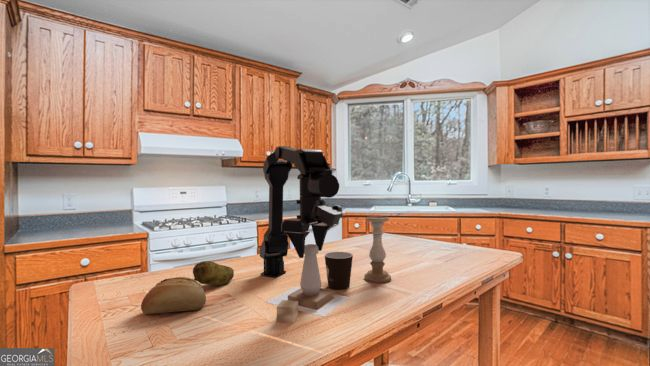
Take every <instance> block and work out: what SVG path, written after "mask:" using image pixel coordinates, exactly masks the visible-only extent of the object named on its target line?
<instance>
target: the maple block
mask: <svg viewBox="0 0 650 366" xmlns="http://www.w3.org/2000/svg"><path fill="white" fill-rule="evenodd" d="M298 317H299V311H298V301H289V300H282V301H281V302H280V303H279V304H278V306H277V305H276V323H287V324H294V323H295V322H296V320H297V318H298Z"/></svg>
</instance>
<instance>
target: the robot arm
mask: <svg viewBox="0 0 650 366" xmlns="http://www.w3.org/2000/svg"><path fill="white" fill-rule="evenodd" d="M293 166H294V167H295V169H296V170H298V171H299V174H298V175H297V179H298V180H299V199H296V205H299V215H298V214H297V215H296V218H288V219H283V218H284V215H283V214H284V186H285V184H286V183H287V181H288V180H289V176H290V175H289V174H290V172H291V170H292V169H293ZM262 170H263V173H264V180H265V181H266V183H267V184H268V186H269V188H268V189H269V190H268V228H267V229H266V231H265V232H264V233H263V240H262V243H261V244H260V247H259V249H258V250H259V251H258V253H259V257H260V258H261V259H263V272H261V273H260V275H261V276H267V277H273V278H277V277H279V276H281V275H283V274H286V273H287V271H286V270H285V260H284V257H287V256H288V250H289V243H290V242H289V241H291V244H292V245H293V247H294V248H293V249H294V250H295V252H296V254H297V256H298V258H300V259H304V257H305V254H304V249H305V245H306V238H307V236H308V235H309V234H310V231H309V229H310V226H311V229H312V233H313V238H314V242H315V245H317V246H318V249H319V252H321V251H322V250H323V246H324V242H325V239H326V236H327V233H328V232H329V230H330V229H332V228H333V227H334V226H335V225H339V222H340V219H343V217H344V215H343V210H342V209H343V207H342V206H340V205H338V204H334V205H333V206H328V205H326V201H325V199H322V198H327V199H329V198H333V197H335V196H336V195H337V194H338V192H339V189H340V182H339V180H338V179H337V177H336V176H334V174H333V170H332V169H331V167H330V165H329V163H328V161H327V158H326V156H325V154H324V152H323V150H321V149H309V148H306V149H305V148H294V147H291V146H284V145H283V146H282V145H278V146H276V147H275V150H274V151H273V152H272V153H270V154H268V156H267V157H266V158H265V160H264V163H263V166H262ZM288 238H289V240H288Z"/></svg>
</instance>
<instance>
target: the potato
mask: <svg viewBox="0 0 650 366" xmlns="http://www.w3.org/2000/svg"><path fill="white" fill-rule="evenodd" d="M192 274H193V278H194V280H195V281H197V282H198V283H199V284H200V285H210V286H215V287H218V286H223V285H225V284H228V283H229V282H230V281H231V280H233V279H234V276H235V275H234V274H235V271H234V269H233V268H232V267H230V266H227V265H223V264H218V263H216V262H214V261H211V260H204V261H200V262H198V263H196V264H194V267H193V268H192Z"/></svg>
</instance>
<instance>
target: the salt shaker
mask: <svg viewBox="0 0 650 366" xmlns="http://www.w3.org/2000/svg"><path fill="white" fill-rule="evenodd" d="M319 252H320V251H319V249H318V246H317V245H316V244H312V243H309V244H305V249H304V257H303V263H302V271H301V277H300V281H299V287H300V288H301V289H302V291H303V293H304V294H305V295H309V296H313V295H317V294H318V292H319V290H320V288H322V280H321V273H320V268H319V263H318V256H317V255H318V254H319Z"/></svg>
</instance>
